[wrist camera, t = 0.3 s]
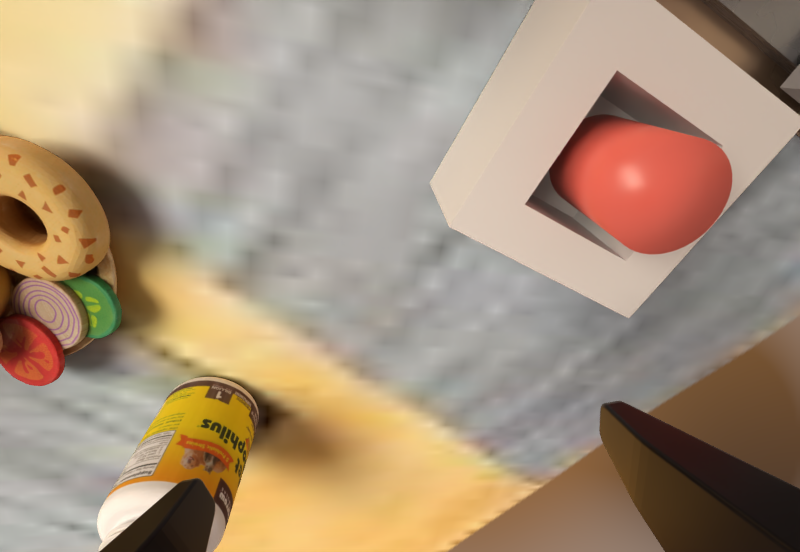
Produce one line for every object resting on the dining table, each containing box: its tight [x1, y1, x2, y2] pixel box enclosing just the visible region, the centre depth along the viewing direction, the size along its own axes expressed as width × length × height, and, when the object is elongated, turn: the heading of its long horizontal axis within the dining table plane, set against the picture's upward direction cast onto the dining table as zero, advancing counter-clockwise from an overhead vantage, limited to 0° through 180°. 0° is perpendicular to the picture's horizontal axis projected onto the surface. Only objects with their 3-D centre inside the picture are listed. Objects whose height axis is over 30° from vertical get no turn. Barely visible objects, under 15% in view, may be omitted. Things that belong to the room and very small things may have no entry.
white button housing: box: [430, 0, 800, 318], centre depth 18 cm, size 9×9×6 cm
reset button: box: [549, 114, 732, 254], centre depth 15 cm, size 4×4×5 cm
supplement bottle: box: [97, 377, 259, 552], centre depth 22 cm, size 6×6×10 cm
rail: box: [656, 0, 800, 137], centre depth 17 cm, size 18×6×2 cm, turn 61°
